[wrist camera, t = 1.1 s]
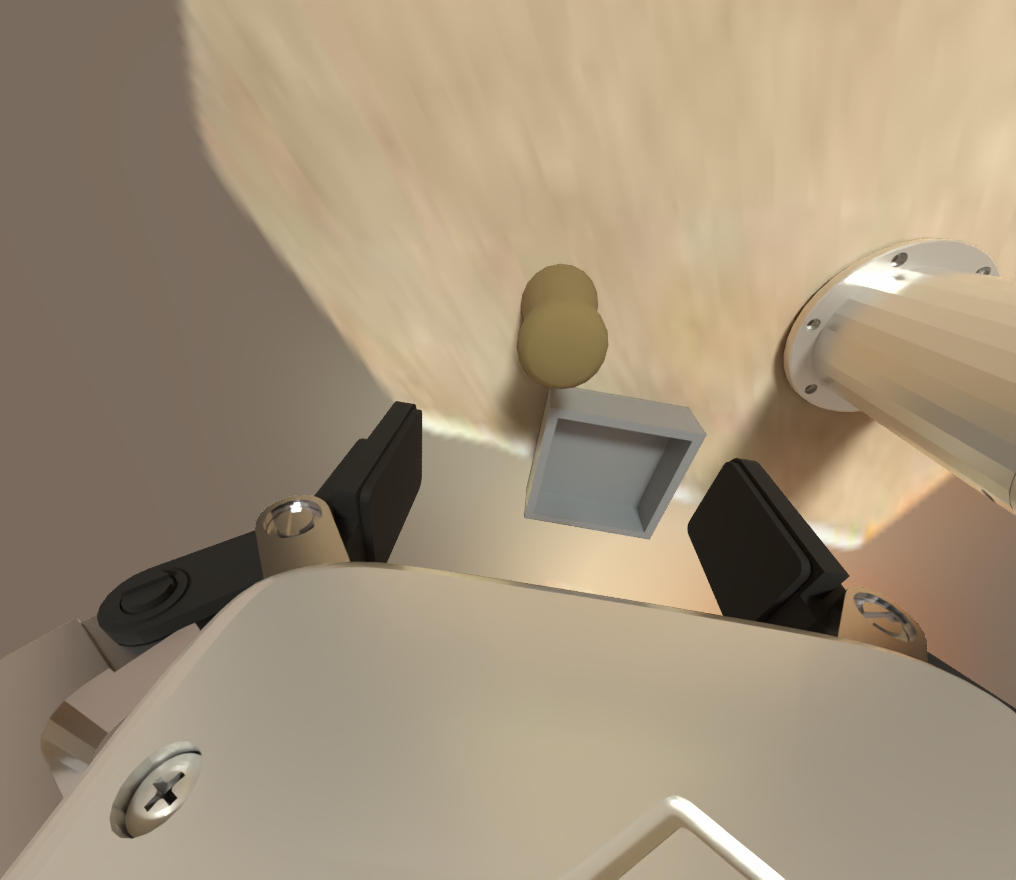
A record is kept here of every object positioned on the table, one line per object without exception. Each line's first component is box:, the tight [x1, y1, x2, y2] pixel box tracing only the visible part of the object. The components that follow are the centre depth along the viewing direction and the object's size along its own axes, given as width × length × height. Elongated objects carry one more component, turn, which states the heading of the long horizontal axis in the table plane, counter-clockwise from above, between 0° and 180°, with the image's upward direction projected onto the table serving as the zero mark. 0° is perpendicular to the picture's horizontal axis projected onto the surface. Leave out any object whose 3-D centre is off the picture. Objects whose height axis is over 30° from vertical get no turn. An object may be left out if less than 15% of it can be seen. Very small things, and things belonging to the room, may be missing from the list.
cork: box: [517, 264, 608, 389], centre depth 24 cm, size 6×6×11 cm
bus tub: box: [524, 388, 707, 539], centre depth 34 cm, size 13×13×4 cm
